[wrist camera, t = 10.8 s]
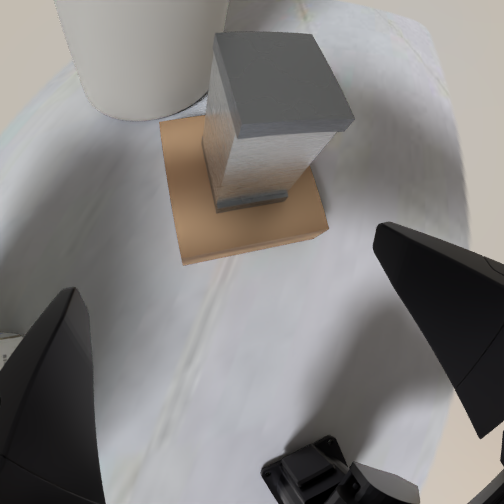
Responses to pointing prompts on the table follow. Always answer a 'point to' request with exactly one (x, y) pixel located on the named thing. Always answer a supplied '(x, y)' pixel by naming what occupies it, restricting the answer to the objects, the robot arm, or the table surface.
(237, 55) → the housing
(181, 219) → the stand
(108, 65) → the cylinder vase
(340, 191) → the table surface
